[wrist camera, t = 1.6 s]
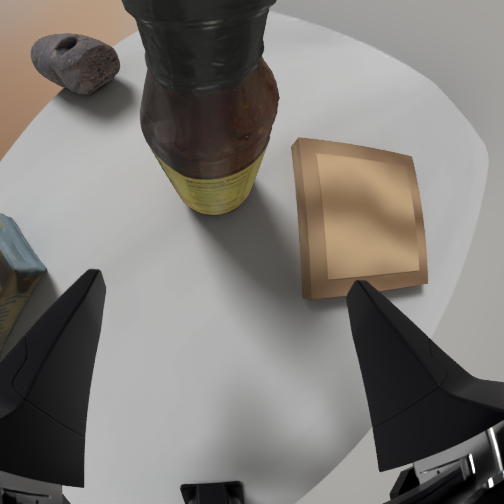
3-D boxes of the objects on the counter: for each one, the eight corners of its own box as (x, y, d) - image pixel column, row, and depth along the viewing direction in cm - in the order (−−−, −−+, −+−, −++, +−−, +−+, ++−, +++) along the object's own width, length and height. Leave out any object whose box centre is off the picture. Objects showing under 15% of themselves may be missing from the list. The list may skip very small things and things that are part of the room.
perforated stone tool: (30, 78, 19) (9, 48, 13) (58, 50, 20) (42, 18, 13) (96, 113, 21) (73, 73, 14) (130, 78, 22) (118, 34, 15)
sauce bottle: (190, 145, 23) (153, -73, 3) (258, 160, 23) (335, -59, 3) (168, 214, 22) (23, 20, 2) (241, 231, 22) (334, 16, 3)
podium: (415, 283, 26) (428, 283, 24) (302, 297, 23) (312, 299, 21) (401, 162, 27) (412, 156, 25) (291, 146, 24) (298, 137, 22)
